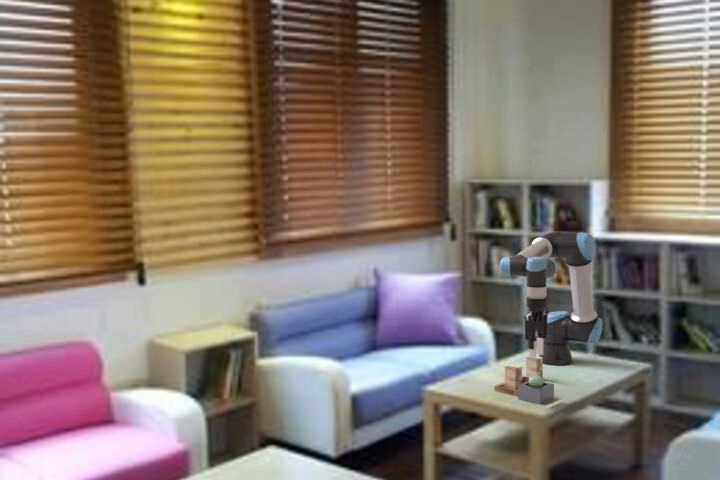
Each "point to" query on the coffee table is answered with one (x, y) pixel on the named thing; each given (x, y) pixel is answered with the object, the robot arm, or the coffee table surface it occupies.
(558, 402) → the coffee table surface
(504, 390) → the wooden divided tray
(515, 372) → the seated billet
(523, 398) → the grey square bin
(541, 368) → the billet
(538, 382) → the button
